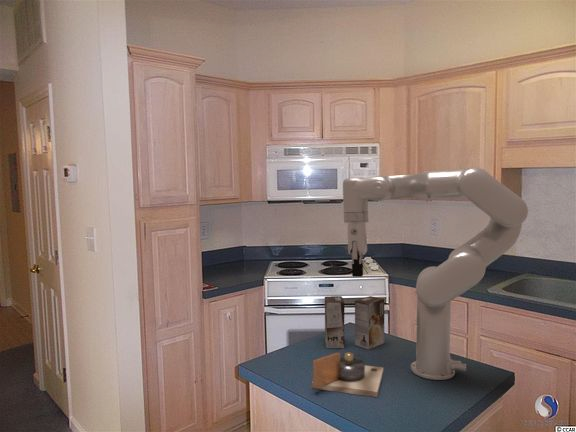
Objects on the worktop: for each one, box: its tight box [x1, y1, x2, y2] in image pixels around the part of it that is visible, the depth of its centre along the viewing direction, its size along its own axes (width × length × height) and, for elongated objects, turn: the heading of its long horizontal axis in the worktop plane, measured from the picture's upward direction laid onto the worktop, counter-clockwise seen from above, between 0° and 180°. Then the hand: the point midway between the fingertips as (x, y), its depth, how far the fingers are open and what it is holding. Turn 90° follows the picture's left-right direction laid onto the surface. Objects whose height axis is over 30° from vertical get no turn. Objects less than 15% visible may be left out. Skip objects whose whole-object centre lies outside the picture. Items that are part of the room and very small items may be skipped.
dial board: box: [311, 364, 384, 398], centre depth 127 cm, size 18×16×2 cm
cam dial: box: [312, 351, 366, 388], centre depth 124 cm, size 18×9×7 cm, turn 127°
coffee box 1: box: [324, 295, 346, 349], centre depth 155 cm, size 9×6×16 cm
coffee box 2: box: [354, 295, 385, 350], centre depth 154 cm, size 9×6×16 cm
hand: (357, 275), depth 137 cm, fingers closed
